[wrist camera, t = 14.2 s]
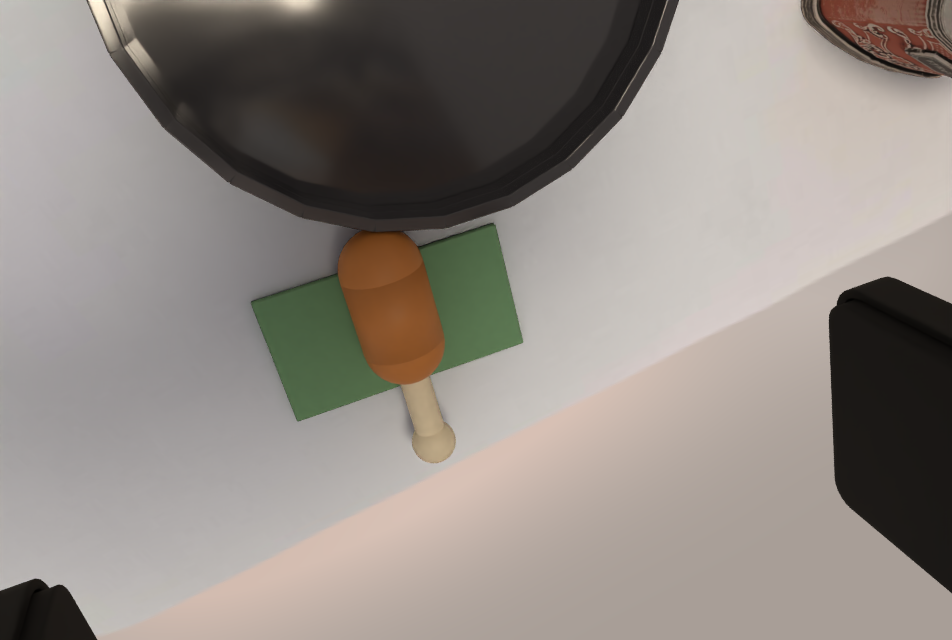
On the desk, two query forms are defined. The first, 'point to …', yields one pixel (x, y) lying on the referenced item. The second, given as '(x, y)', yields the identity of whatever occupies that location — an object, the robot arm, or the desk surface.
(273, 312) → the napkin
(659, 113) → the desk surface
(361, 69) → the pan
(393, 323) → the drumstick
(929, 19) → the lighter
